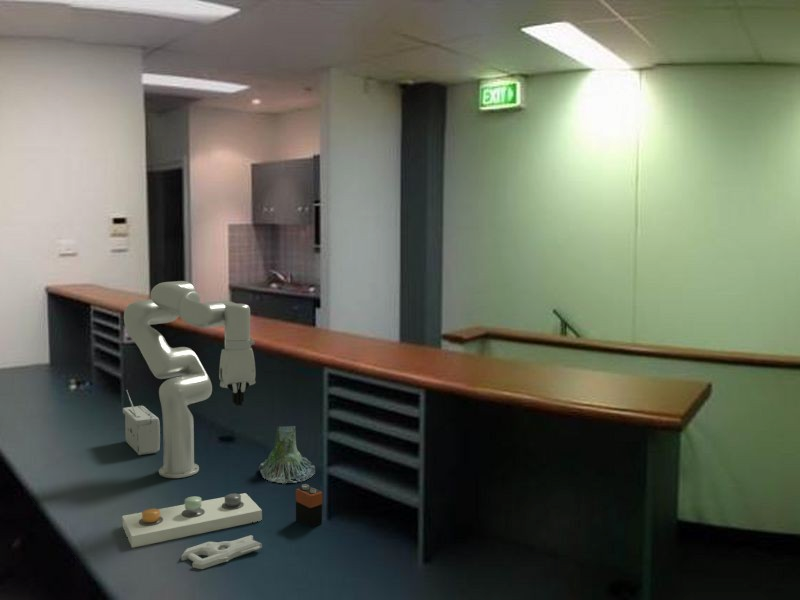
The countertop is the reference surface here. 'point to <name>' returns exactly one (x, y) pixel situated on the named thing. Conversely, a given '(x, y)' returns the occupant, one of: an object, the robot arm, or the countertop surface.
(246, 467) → the countertop surface
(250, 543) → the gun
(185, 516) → the button panel
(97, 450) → the countertop surface
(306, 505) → the battery
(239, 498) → the charcoal button
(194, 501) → the sage button
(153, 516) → the orange button
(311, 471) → the tree stump
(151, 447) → the stereo radio cassette player
